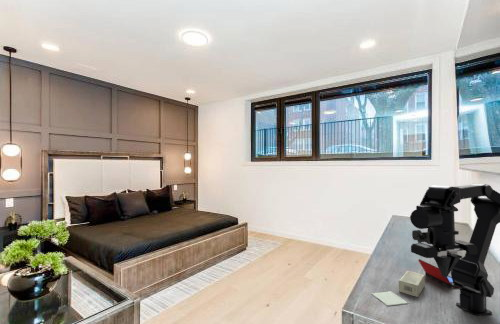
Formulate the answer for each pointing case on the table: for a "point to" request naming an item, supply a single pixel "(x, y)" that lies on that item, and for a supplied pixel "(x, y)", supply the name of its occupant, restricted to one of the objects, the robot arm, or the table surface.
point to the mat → (389, 298)
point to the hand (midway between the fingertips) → (444, 276)
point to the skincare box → (412, 283)
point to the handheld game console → (437, 274)
